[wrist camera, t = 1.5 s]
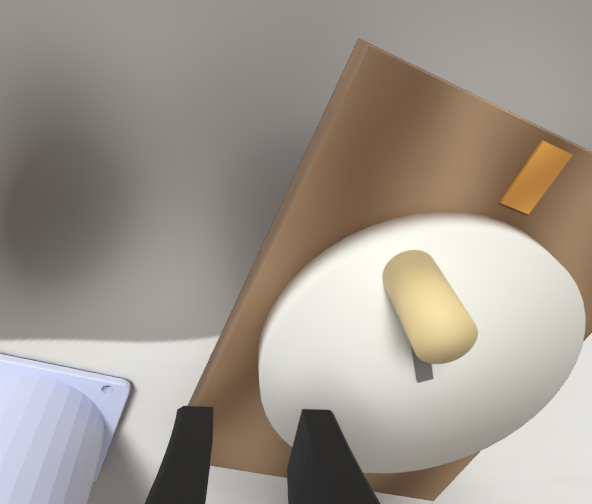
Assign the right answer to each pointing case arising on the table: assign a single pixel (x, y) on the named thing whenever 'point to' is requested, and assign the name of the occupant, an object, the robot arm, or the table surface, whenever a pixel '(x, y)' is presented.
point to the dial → (422, 338)
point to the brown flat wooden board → (388, 205)
